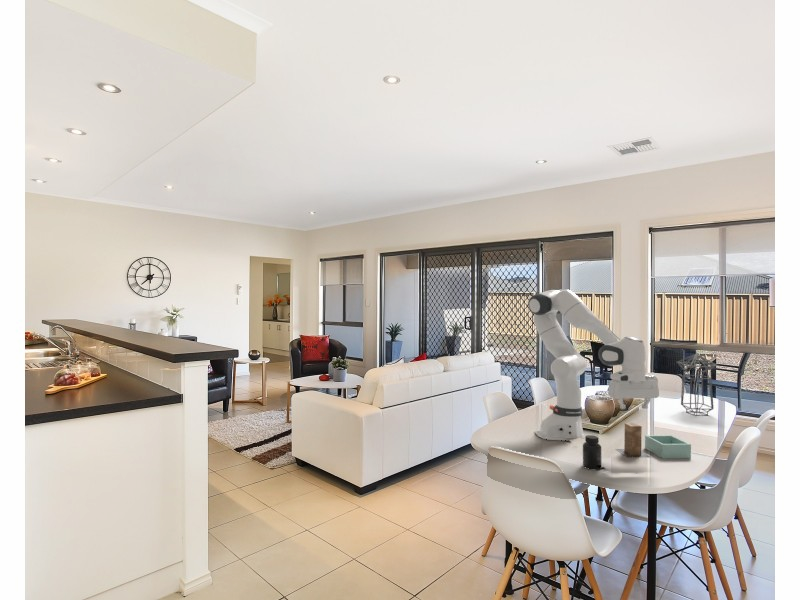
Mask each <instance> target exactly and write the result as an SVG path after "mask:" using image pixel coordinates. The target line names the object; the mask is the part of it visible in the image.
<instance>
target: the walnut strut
mask: <svg viewBox="0 0 800 600" xmlns="http://www.w3.org/2000/svg"><path fill="white" fill-rule="evenodd" d="M642 427H643V426H642V425H641V424H638V423H636V422H635V423H634V422H624V443H623V444H624V447H623V449H624V451H625V452H626V453H628V454H630V455H641V451H642Z"/></svg>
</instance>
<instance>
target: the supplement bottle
mask: <svg viewBox="0 0 800 600" xmlns="http://www.w3.org/2000/svg"><path fill="white" fill-rule="evenodd" d="M602 458H603V457H602V445H601V444H600V443H599V437H598V436H597V435H593V434H588V435H584V443H583V444H582V465H583V468H585V467H586V468H585V469H587V468H589V469H588V470H590V469H599V470H601V469H602V465H603V464H602Z"/></svg>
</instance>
